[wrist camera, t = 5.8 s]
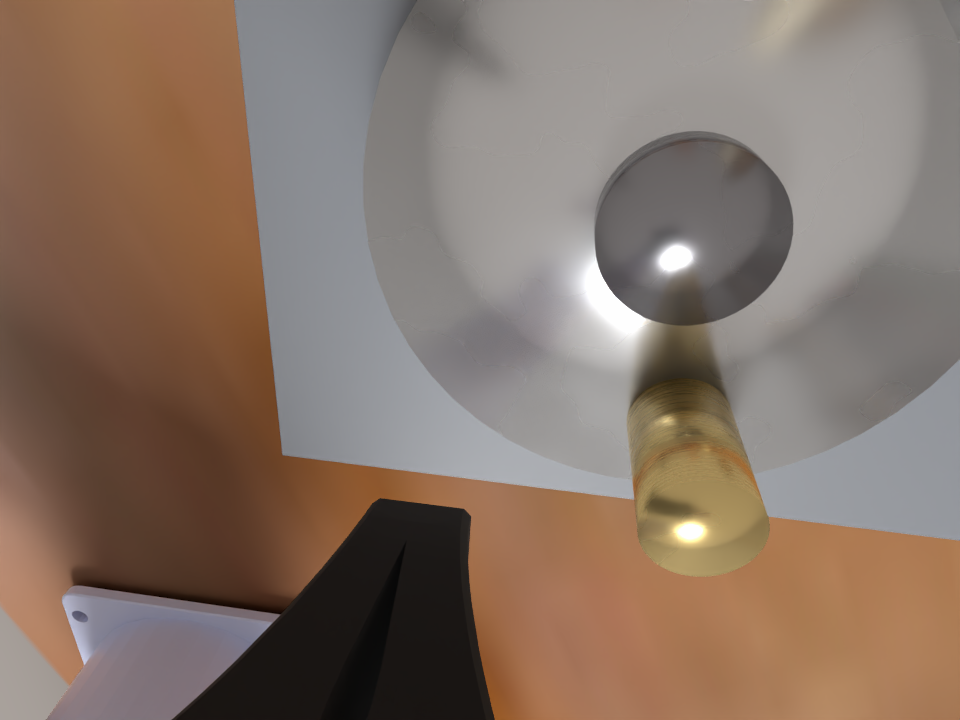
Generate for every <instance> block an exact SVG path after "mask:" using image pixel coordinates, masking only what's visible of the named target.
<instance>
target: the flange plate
mask: <svg viewBox="0 0 960 720" xmlns="http://www.w3.org/2000/svg"><path fill="white" fill-rule="evenodd" d="M363 207H364V215H365V222H366V230H367V237H368V245H369V249H370V252H371V256H372V260H373V264H374V267H375V271H376V275H377V279H378V282H379V285H380V287H381V290H382V292H383V294H384V297H385V299H386V302H387V304H388V307H389V309H390V312H391V314H392V316H393V318H394V320H395V322H396V323H397V325H398V327H399V329H400V330H401V332H402V334H403V336H404V337H405V339H406V341H407V343H408V345H409V346H410V348H411V349H412V350H413V352H414V353H415V355H416V356H417V357H418V359H419V360H420V361H421V363H422V364H423V365H424V367H425V368H426V369H427V371H428V372H429V373H430V375H431V376H432V377H433V378H434V379H435V380H436V381H437V382H438V383H439V384H440V385H441V386H442V387H443V388H444V390H445V391H446V392H447V393H448V394H449V395H450V396H451V397H452V398H453V399H454V400H455V401H456V402H457V403H459V404H460V405H461V406H462V407H463V408H465V409H466V410H467V411H468V412H470V413H471V414H472V415H473V416H474V417H476V418H477V419H478V420H479V421H480V422H482V423H483V424H485V425H486V426H488V427H490V428H491V429H493V430H494V431H496V432H497V433H499V434H500V435H502V436H503V437H505V438H506V439H508V440H510V441H512V442H514V443H516V444H518V445H520V446H522V447H524V448H526V449H528V450H530V451H532V452H534V453H536V454H538V455H540V456H542V457H545V458H548V459H550V460H553V461H556V462H558V463H561V464H564V465H566V466H569V467H572V468H576V469H580V470H584V471H587V472H591V473H595V474H599V475H603V476H608V477H615V478H622V479H629V480H632V483H633V493H634V502H635V512H636V522H637V532H638V539H639V542H640V545H641V547H642V549H643V550H644V552H645V553H646V554H647V555H648V557H649V558H650V559H651V560H653V561H654V562H655V563H656V564H658V565H659V566H661V567H663V568H665V569H667V570H669V571H672V572H675V573H678V574H682V575H687V576H697V577H705V576H715V575H720V574H725V573H728V572H731V571H734V570H736V569H738V568H740V567H742V566H744V565H746V564H747V563H749V562H750V561H751V560H753V559H754V558H755V557H756V556H757V555H758V554H759V553H760V551H761V550H762V549H763V547H764V546H765V544H766V542H767V539H768V536H769V531H770V524H769V518H768V515H767V512H766V509H765V506H764V503H763V500H762V497H761V494H760V491H759V489H758V486H757V483H756V480H755V477H754V474H756V473H760V472H763V471H767V470H771V469H775V468H779V467H783V466H787V465H790V464H792V463H795V462H798V461H801V460H803V459H806V458H809V457H811V456H814V455H817V454H820V453H822V452H825V451H827V450H829V449H831V448H833V447H835V446H837V445H840V444H842V443H844V442H846V441H848V440H850V439H852V438H854V437H856V436H858V435H860V434H862V433H864V432H865V431H867V430H869V429H870V428H872V427H874V426H875V425H877V424H878V423H880V422H882V421H883V420H885V419H887V418H888V417H890V416H892V415H893V414H895V413H897V412H898V411H899V410H900V409H902V408H903V407H904V406H906V405H907V404H908V403H910V402H911V401H912V400H914V399H915V398H916V397H918V396H919V395H920V394H922V393H923V392H924V391H925V390H927V389H928V388H929V387H931V386H932V385H933V384H934V383H935V382H936V381H937V380H938V379H939V378H940V377H941V376H942V375H943V374H945V373H946V372H947V371H948V370H949V369H950V368H951V367H952V366H953V365H954V364H955V363H956V362H957V361H958V360H959V359H960V0H417V2H416V3H415V5H414V7H413V9H412V10H411V12H410V14H409V16H408V17H407V19H406V21H405V23H404V24H403V26H402V28H401V30H400V31H399V33H398V36H397V38H396V40H395V43H394V45H393V48H392V50H391V53H390V55H389V58H388V60H387V62H386V65H385V67H384V70H383V72H382V75H381V77H380V81H379V85H378V88H377V92H376V96H375V100H374V104H373V107H372V111H371V115H370V119H369V124H368V131H367V139H366V147H365V155H364V162H363Z"/></svg>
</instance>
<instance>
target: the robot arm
mask: <svg viewBox="0 0 960 720" xmlns="http://www.w3.org/2000/svg"><path fill="white" fill-rule="evenodd" d="M470 525H471V516H470V515H469V514H468V513H467V512H466V511H465V510H464V509H460V508H452V507H445V506H437V505H429V504H421V503H413V502H405V501H397V500H389V499H381V498H380V499H378V500H377V501H375V502H374V503H372V505H371V506H370V508H369V509H368V510H367V512H366V513H365V515H364V516H363V517H362V519H361V520H360V521H359V523H358V524H357V525H356V527H355V528H354V529H353V530H352V532H351V533H350V534H349V536H348V537H347V538H346V539H345V541H344V542H343V543H342V544H341V546H340V547H339V548H338V549H337V551H336V552H335V553H334V554H333V555H332V557H331V558H330V559H329V560H328V562H327V563H326V564H325V565H324V566H323V568H322V569H321V570H320V571H319V572H318V573H317V574H316V576H315V577H314V578H313V579H312V580H311V581H310V582H309V583H308V585H307V586H306V587H305V588H304V589H303V590H302V591H301V593H300V594H299V595H298V596H297V597H296V598H295V599H294V600H293V602H292V603H291V604H290V605H289V606H288V607H287V608H286V609H285V610H284V612H283V613H282V614H274V613H267V612H260V611H253V610H246V609H239V608H232V607H225V606H218V605H211V604H205V603H198V602H191V601H184V600H177V599H170V598H163V597H156V596H149V595H142V594H135V593H129V592H122V591H115V590H108V589H101V588H94V587H87V586H72V587H70V588H69V589H68V591H67V592H66V593H65V594H64V596H63V597H62V603H63V606H64V609H65V611H66V614H67V617H68V620H69V623H70V626H71V629H72V631H73V634H74V637H75V640H76V643H77V646H78V648H79V651H80V654H81V657H82V660H83V663H84V667H83V668H82V669H81V671H80V672H79V674H78V675H77V676H76V678H75V679H74V681H73V682H72V684H71V685H70V686H69V688H68V689H67V691H66V692H65V693H64V695H63V696H62V698H61V699H60V701H59V702H58V703H57V705H56V706H55V708H54V709H53V711H52V712H51V713H50V715H49V716H48V718H47V719H46V720H495V719H494V715H493V711H492V707H491V703H490V698H489V694H488V690H487V685H486V681H485V676H484V672H483V667H482V662H481V657H480V652H479V647H478V640H477V634H476V628H475V622H474V615H473V609H472V602H471V594H470V584H469V570H468V554H469V539H470Z"/></svg>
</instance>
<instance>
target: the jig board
mask: <svg viewBox="0 0 960 720" xmlns="http://www.w3.org/2000/svg"><path fill="white" fill-rule="evenodd" d="M416 2H417V0H234V3H235V13H236V22H237V31H238V41H239V50H240V60H241V69H242V79H243V88H244V97H245V107H246V116H247V126H248V135H249V144H250V154H251V163H252V173H253V182H254V192H255V201H256V210H257V220H258V229H259V239H260V248H261V257H262V267H263V276H264V286H265V295H266V304H267V314H268V323H269V333H270V342H271V352H272V361H273V370H274V380H275V389H276V399H277V408H278V417H279V427H280V436H281V446H282V455H286V456H294V457H301V458H309V459H317V460H325V461H333V462H341V463H349V464H357V465H365V466H373V467H381V468H389V469H397V470H405V471H412V472H420V473H428V474H436V475H444V476H452V477H460V478H468V479H476V480H484V481H492V482H500V483H508V484H515V485H523V486H531V487H539V488H547V489H555V490H563V491H571V492H579V493H587V494H595V495H603V496H611V497H619V498H626V499H634V493H633V483H632V480H629V479H622V478H615V477H608V476H603V475H599V474H595V473H591V472H587V471H584V470H580V469H576V468H572V467H569V466H566V465H564V464H561V463H558V462H556V461H553V460H550V459H548V458H545V457H542V456H540V455H538V454H536V453H534V452H532V451H530V450H528V449H526V448H524V447H522V446H520V445H518V444H516V443H514V442H512V441H510V440H508V439H506V438H505V437H503V436H502V435H500V434H499V433H497V432H496V431H494V430H493V429H491V428H490V427H488V426H486V425H485V424H483V423H482V422H480V421H479V420H478V419H477V418H476V417H474V416H473V415H472V414H471V413H470V412H468V411H467V410H466V409H465V408H463V407H462V406H461V405H460V404H459V403H457V402H456V401H455V400H454V399H453V398H452V397H451V396H450V395H449V394H448V393H447V392H446V391H445V390H444V388H443V387H442V386H441V385H440V384H439V383H438V382H437V381H436V380H435V379H434V378H433V377H432V376H431V375H430V373H429V372H428V371H427V369H426V368H425V367H424V365H423V364H422V363H421V361H420V360H419V359H418V357H417V356H416V355H415V353H414V352H413V350H412V349H411V348H410V346H409V345H408V343H407V341H406V339H405V337H404V336H403V334H402V332H401V330H400V329H399V327H398V325H397V323H396V322H395V320H394V318H393V316H392V314H391V312H390V309H389V307H388V304H387V302H386V299H385V297H384V294H383V292H382V290H381V287H380V285H379V282H378V279H377V275H376V271H375V267H374V264H373V260H372V256H371V252H370V249H369V245H368V237H367V230H366V222H365V215H364V207H363V162H364V155H365V147H366V139H367V131H368V124H369V119H370V115H371V111H372V107H373V104H374V100H375V96H376V92H377V88H378V85H379V81H380V77H381V75H382V72H383V70H384V67H385V65H386V62H387V60H388V58H389V55H390V53H391V50H392V48H393V45H394V43H395V40H396V38H397V36H398V33H399V31H400V30H401V28H402V26H403V24H404V23H405V21H406V19H407V17H408V16H409V14H410V12H411V10H412V9H413V7H414V5H415V3H416ZM754 477H755V480H756V483H757V486H758V489H759V491H760V494H761V497H762V500H763V503H764V506H765V509H766V512H767V515H768V516H769V517H777V518H785V519H793V520H801V521H809V522H817V523H825V524H833V525H840V526H848V527H856V528H864V529H872V530H880V531H888V532H896V533H904V534H912V535H920V536H928V537H936V538H944V539H951V540H959V541H960V359H959V360H958V361H957V362H956V363H955V364H954V365H953V366H952V367H951V368H950V369H949V370H948V371H947V372H946V373H945V374H943V375H942V376H941V377H940V378H939V379H938V380H937V381H936V382H935V383H934V384H933V385H932V386H931V387H929V388H928V389H927V390H925V391H924V392H923V393H922V394H920V395H919V396H918V397H916V398H915V399H914V400H912V401H911V402H910V403H908V404H907V405H906V406H904V407H903V408H902V409H900V410H899V411H898V412H897V413H895V414H893V415H892V416H890V417H888V418H887V419H885V420H883V421H882V422H880V423H878V424H877V425H875V426H874V427H872V428H870V429H869V430H867V431H865V432H864V433H862V434H860V435H858V436H856V437H854V438H852V439H850V440H848V441H846V442H844V443H842V444H840V445H837V446H835V447H833V448H831V449H829V450H827V451H825V452H822V453H820V454H817V455H814V456H811V457H809V458H806V459H803V460H801V461H798V462H795V463H792V464H790V465H787V466H783V467H779V468H775V469H771V470H767V471H763V472H760V473H756V474H754Z"/></svg>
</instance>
